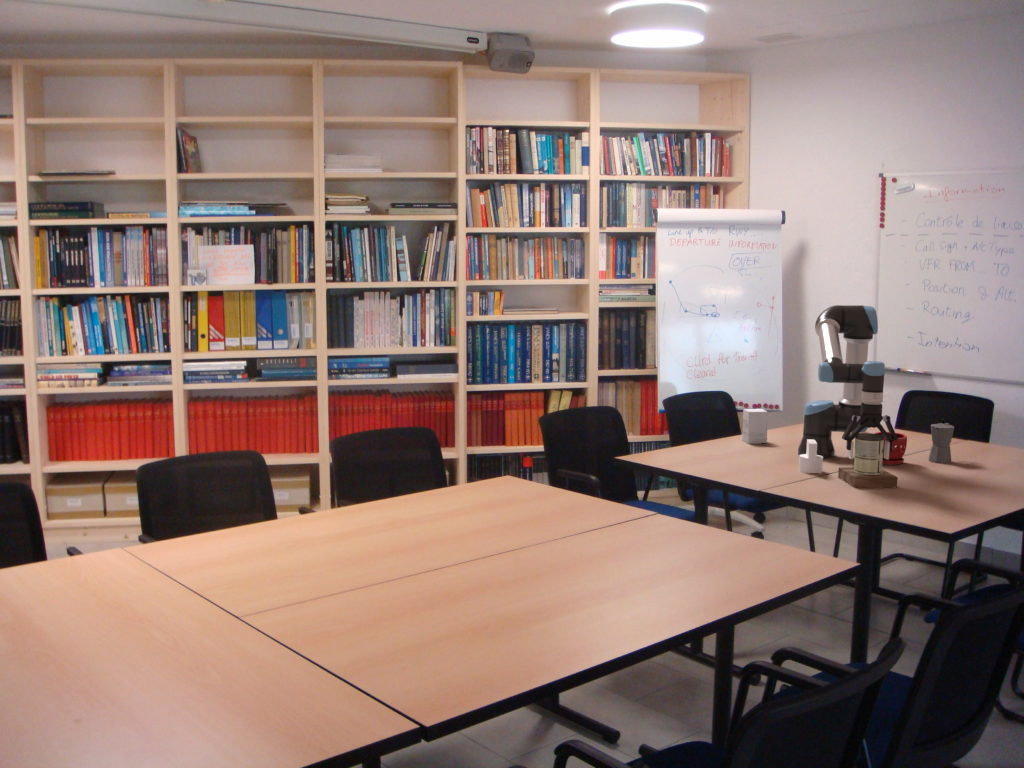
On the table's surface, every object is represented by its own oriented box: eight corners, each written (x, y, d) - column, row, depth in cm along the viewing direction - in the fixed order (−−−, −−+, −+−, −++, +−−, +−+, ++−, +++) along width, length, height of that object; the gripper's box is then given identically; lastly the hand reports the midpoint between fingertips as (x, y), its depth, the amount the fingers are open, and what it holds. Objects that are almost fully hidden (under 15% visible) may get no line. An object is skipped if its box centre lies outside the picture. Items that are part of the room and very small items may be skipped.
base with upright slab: (823, 474, 366) (825, 444, 364) (799, 473, 368) (801, 443, 366) (820, 469, 375) (822, 439, 373) (797, 468, 377) (799, 438, 375)
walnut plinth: (838, 477, 361) (838, 467, 360) (879, 477, 361) (879, 467, 360) (854, 487, 345) (854, 477, 344) (896, 487, 345) (897, 477, 345)
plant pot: (870, 458, 396) (872, 430, 395) (904, 460, 392) (906, 432, 390) (871, 464, 384) (873, 436, 382) (906, 467, 380) (908, 438, 378)
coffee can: (849, 468, 358) (851, 432, 356) (877, 469, 357) (879, 433, 355) (857, 474, 348) (859, 437, 346) (885, 475, 347) (887, 438, 345)
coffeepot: (946, 465, 384) (949, 422, 381) (922, 462, 390) (925, 419, 388) (958, 459, 395) (962, 417, 392) (935, 456, 401) (938, 415, 399)
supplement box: (760, 440, 434) (762, 408, 432) (767, 443, 425) (768, 411, 423) (741, 440, 434) (742, 408, 432) (747, 444, 425) (749, 411, 423)
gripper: (842, 404, 345) (839, 460, 348) (909, 404, 345) (905, 460, 348) (835, 401, 352) (831, 456, 355) (900, 401, 353) (896, 456, 356)
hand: (868, 458), depth 352 cm, fingers open, 13 cm apart
